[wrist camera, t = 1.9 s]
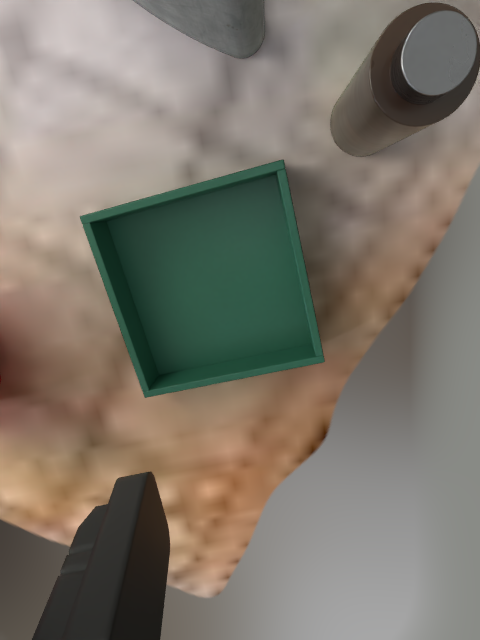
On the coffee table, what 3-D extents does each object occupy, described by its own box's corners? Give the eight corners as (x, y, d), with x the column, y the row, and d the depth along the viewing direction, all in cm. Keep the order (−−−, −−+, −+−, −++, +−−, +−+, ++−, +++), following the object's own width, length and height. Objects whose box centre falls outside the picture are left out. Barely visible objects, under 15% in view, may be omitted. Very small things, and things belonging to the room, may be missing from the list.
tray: (100, 215, 30) (79, 216, 27) (281, 164, 28) (283, 159, 25) (157, 378, 34) (144, 398, 31) (318, 345, 32) (325, 362, 29)
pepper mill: (324, 94, 27) (370, 4, 15) (392, 74, 26) (498, -38, 14) (336, 164, 28) (387, 133, 16) (401, 146, 27) (505, 100, 15)
